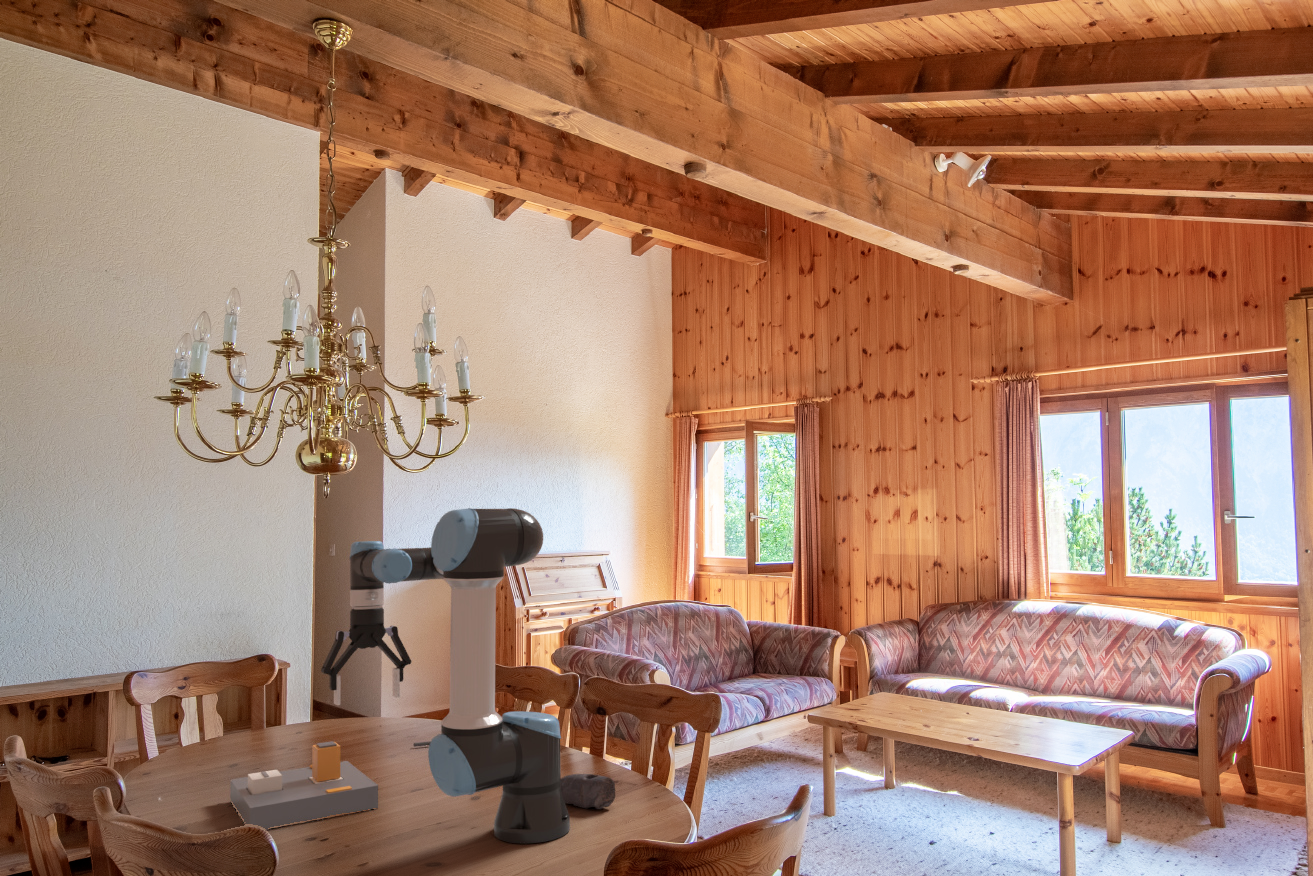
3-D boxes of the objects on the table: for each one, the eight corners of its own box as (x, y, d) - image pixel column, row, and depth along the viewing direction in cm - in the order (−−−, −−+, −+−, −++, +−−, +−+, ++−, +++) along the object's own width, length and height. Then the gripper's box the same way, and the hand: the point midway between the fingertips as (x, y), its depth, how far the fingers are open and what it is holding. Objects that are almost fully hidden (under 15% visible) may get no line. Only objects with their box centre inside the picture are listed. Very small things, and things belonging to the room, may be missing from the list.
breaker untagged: (281, 799, 198) (282, 774, 198) (252, 804, 194) (252, 779, 195) (276, 792, 203) (276, 768, 203) (247, 797, 199) (247, 773, 200)
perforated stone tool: (549, 804, 199) (548, 772, 200) (564, 798, 204) (564, 766, 204) (603, 815, 191) (602, 781, 192) (618, 808, 195) (617, 775, 196)
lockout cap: (340, 777, 205) (340, 744, 206) (317, 781, 202) (317, 747, 203) (334, 773, 209) (335, 740, 210) (312, 776, 206) (312, 743, 207)
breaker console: (378, 808, 199) (378, 782, 199) (249, 833, 185) (250, 805, 185) (346, 782, 220) (347, 758, 221) (230, 802, 206) (230, 776, 207)
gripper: (316, 612, 201) (315, 710, 199) (424, 604, 216) (425, 695, 214) (307, 610, 208) (306, 705, 205) (413, 602, 222) (413, 691, 220)
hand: (367, 700), depth 209 cm, fingers open, 13 cm apart
